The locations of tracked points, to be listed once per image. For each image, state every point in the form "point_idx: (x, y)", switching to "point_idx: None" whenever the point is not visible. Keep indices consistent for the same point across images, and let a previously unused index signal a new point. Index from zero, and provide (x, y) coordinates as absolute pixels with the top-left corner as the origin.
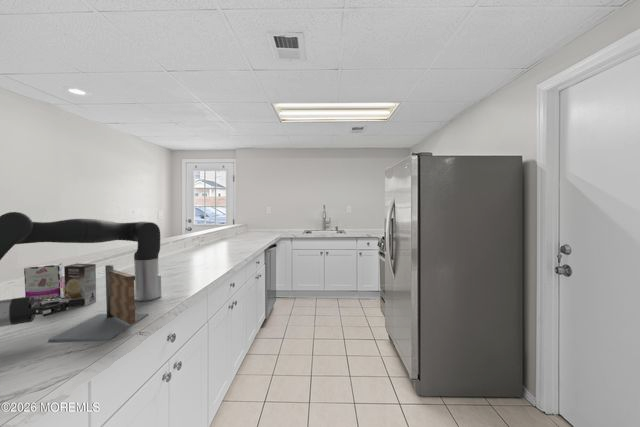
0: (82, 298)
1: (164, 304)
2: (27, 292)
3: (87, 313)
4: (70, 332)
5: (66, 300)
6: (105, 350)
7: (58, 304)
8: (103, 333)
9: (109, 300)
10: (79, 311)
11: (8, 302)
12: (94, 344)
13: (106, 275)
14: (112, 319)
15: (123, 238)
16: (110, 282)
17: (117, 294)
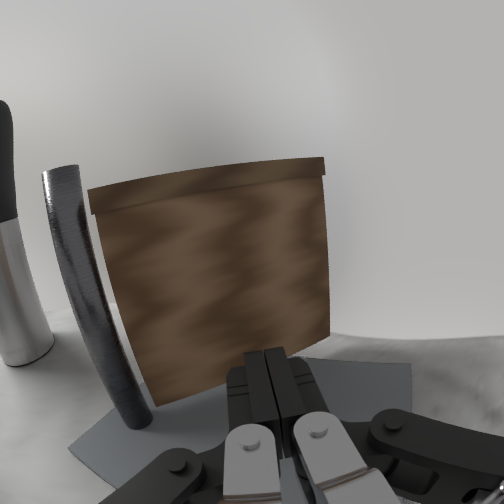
0: (273, 350)
1: (119, 326)
2: None
3: (10, 473)
4: None
5: (327, 424)
6: (466, 347)
7: (452, 426)
8: (360, 396)
9: (123, 358)
10: None
11: None
12: (437, 389)
13: (73, 226)
14: (186, 411)
15: None
16: (120, 253)
17: (220, 281)
